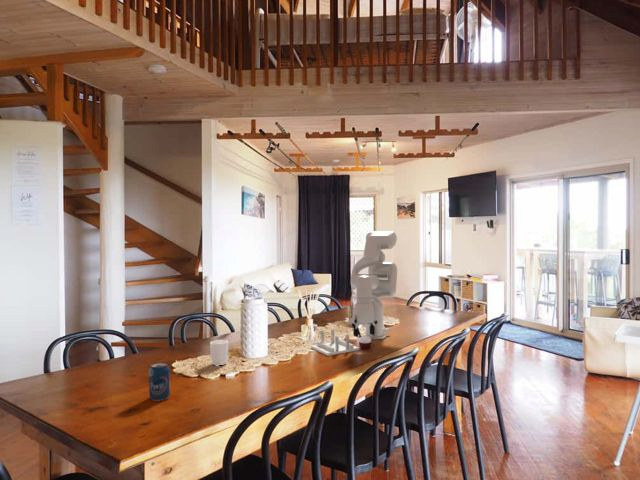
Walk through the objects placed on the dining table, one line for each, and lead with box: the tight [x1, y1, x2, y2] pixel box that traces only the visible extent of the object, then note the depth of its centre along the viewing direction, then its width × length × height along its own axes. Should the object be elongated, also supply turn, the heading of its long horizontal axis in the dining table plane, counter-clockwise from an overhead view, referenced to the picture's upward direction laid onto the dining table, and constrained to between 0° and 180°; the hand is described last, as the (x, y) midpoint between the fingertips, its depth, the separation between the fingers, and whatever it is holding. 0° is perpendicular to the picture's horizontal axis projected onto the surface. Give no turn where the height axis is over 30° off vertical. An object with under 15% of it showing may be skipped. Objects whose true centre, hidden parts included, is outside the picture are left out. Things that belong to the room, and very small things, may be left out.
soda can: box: [148, 361, 171, 402], centre depth 157 cm, size 7×7×12 cm
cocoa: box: [357, 327, 375, 351], centre depth 217 cm, size 10×6×12 cm, turn 42°
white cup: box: [209, 339, 229, 365], centre depth 195 cm, size 8×8×10 cm
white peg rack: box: [310, 328, 360, 357], centre depth 217 cm, size 18×16×8 cm
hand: (364, 335), depth 216 cm, fingers open, 9 cm apart
